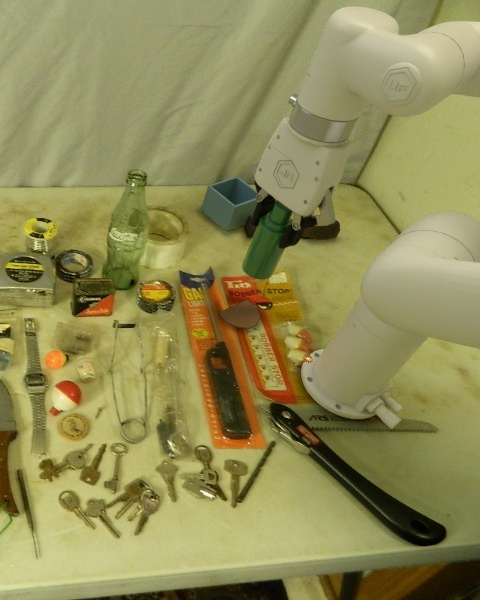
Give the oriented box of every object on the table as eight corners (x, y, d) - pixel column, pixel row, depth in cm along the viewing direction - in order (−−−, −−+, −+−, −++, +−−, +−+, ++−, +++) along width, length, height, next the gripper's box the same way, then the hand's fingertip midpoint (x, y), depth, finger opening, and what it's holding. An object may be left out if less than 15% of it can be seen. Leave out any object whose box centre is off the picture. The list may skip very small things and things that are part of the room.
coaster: (267, 319, 91) (268, 318, 91) (237, 334, 88) (238, 332, 88) (239, 293, 95) (240, 292, 95) (210, 306, 92) (210, 305, 92)
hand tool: (246, 240, 106) (253, 221, 102) (242, 227, 108) (249, 209, 105) (339, 247, 106) (349, 229, 103) (333, 234, 109) (343, 217, 105)
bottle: (279, 273, 83) (310, 209, 74) (257, 283, 81) (286, 219, 72) (257, 254, 86) (284, 190, 77) (235, 264, 84) (260, 199, 75)
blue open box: (254, 222, 110) (264, 196, 105) (225, 233, 106) (235, 207, 102) (228, 201, 114) (237, 175, 109) (200, 211, 111) (207, 185, 106)
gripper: (252, 96, 69) (215, 209, 82) (358, 162, 59) (298, 277, 72) (291, 86, 72) (250, 197, 85) (399, 147, 62) (334, 261, 76)
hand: (273, 233), depth 79 cm, fingers closed on bottle, 5 cm apart
